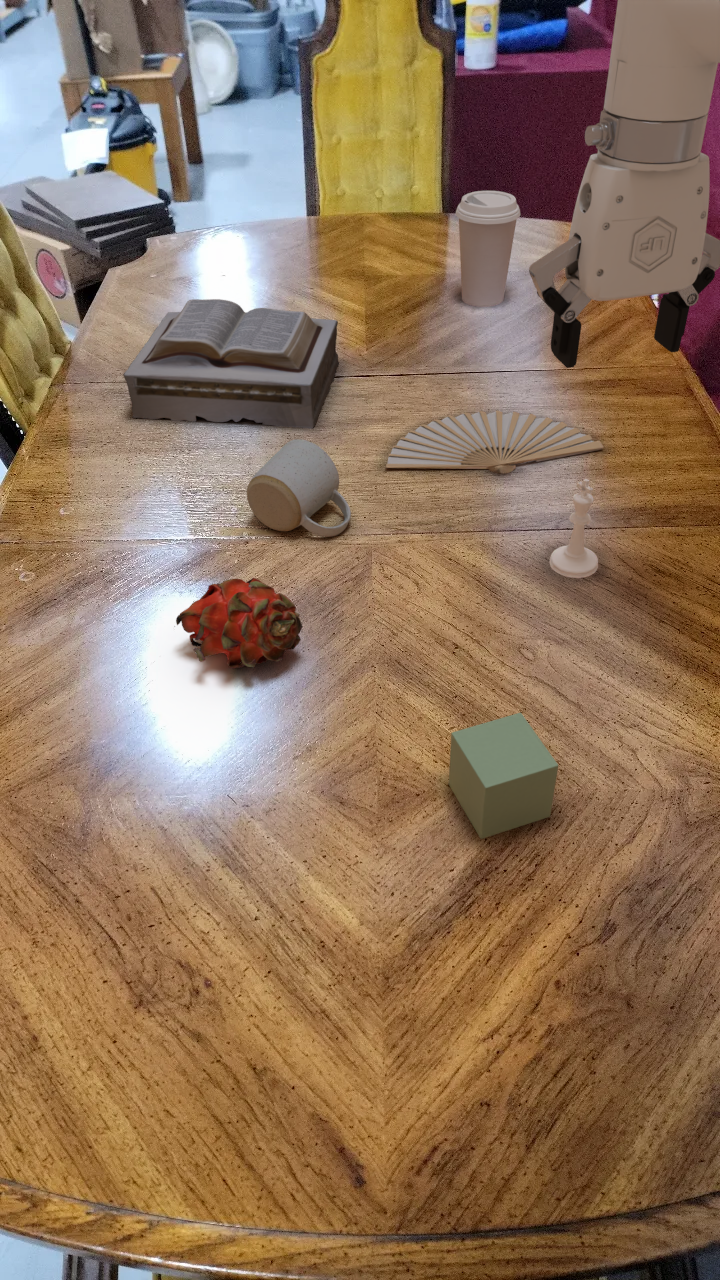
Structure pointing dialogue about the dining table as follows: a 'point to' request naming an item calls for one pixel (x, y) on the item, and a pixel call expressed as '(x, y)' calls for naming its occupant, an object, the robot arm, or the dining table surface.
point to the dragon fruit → (242, 623)
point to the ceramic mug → (297, 489)
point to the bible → (235, 366)
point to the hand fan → (488, 442)
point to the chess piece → (577, 540)
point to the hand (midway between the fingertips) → (615, 353)
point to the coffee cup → (486, 245)
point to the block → (502, 774)
